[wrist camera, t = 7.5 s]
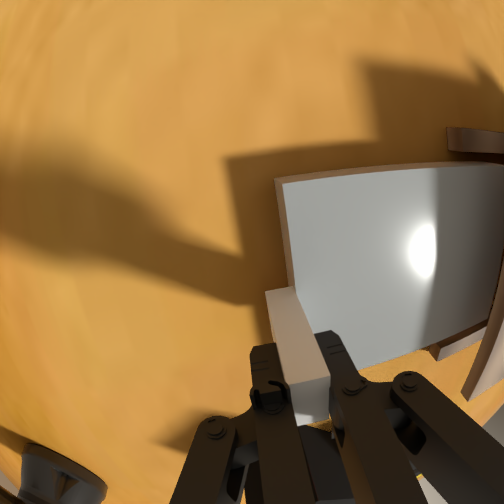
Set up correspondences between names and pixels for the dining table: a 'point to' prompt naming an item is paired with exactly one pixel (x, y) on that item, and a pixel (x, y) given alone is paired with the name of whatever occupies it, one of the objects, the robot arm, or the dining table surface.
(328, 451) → the toy
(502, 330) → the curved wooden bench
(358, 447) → the robot arm
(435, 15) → the dining table surface
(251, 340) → the dining table surface
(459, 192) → the tile
